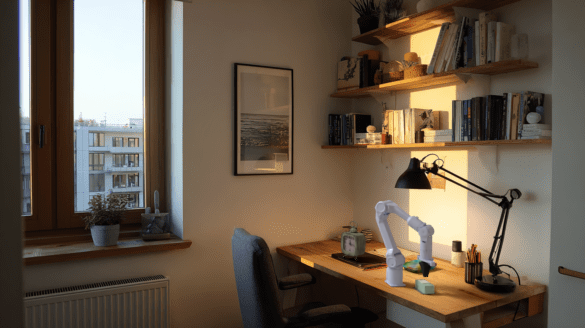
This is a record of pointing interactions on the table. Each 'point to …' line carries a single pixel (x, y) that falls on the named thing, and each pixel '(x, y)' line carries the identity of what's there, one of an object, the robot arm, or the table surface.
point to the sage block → (424, 286)
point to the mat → (419, 290)
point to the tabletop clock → (353, 242)
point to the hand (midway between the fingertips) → (425, 276)
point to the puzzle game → (415, 266)
